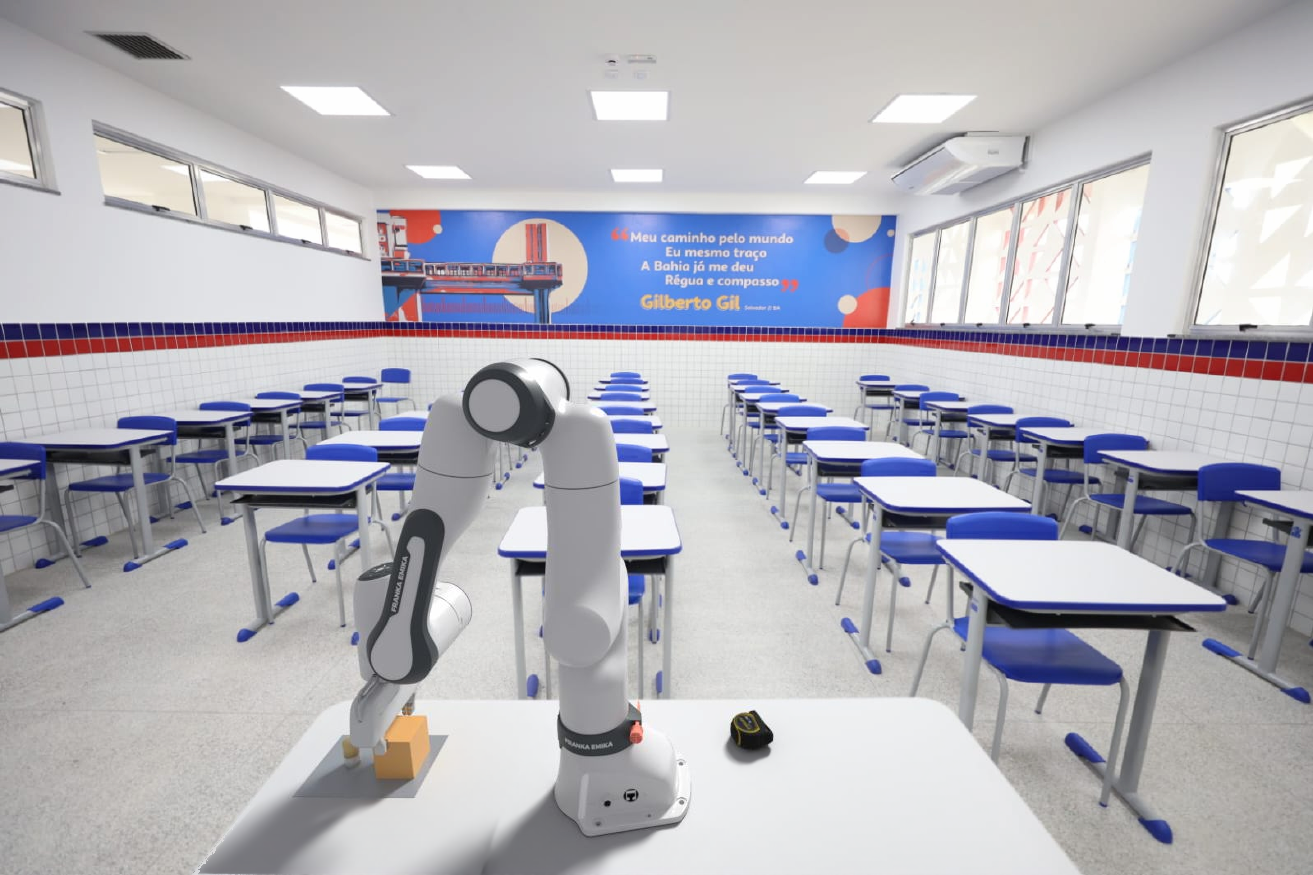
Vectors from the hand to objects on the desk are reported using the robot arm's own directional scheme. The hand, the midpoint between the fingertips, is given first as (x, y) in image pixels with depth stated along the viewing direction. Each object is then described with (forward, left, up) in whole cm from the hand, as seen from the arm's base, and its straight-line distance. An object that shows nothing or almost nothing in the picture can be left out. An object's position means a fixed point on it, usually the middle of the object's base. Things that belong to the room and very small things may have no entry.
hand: (396, 731), depth 96 cm
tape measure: (-62, -8, -8) cm, 63 cm away
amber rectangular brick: (-1, 0, -6) cm, 6 cm away
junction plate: (+4, 0, -8) cm, 9 cm away
